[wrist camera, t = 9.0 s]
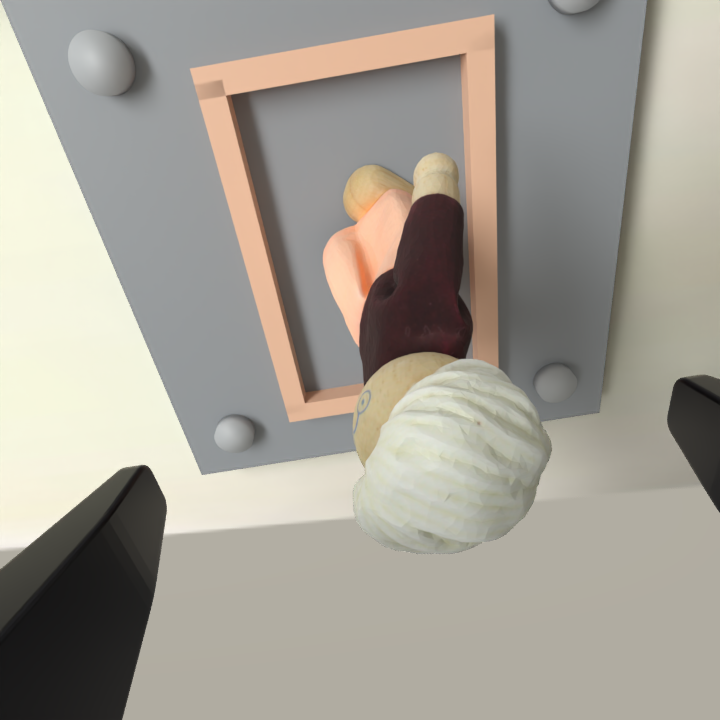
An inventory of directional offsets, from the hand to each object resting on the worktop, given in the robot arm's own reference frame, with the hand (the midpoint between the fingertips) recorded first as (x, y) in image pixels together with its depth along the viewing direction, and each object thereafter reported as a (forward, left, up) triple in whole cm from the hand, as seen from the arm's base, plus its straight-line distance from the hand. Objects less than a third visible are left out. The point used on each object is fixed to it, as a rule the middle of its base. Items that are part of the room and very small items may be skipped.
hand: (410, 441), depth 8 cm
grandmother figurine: (0, 0, -11) cm, 11 cm away
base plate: (0, 0, -12) cm, 12 cm away
